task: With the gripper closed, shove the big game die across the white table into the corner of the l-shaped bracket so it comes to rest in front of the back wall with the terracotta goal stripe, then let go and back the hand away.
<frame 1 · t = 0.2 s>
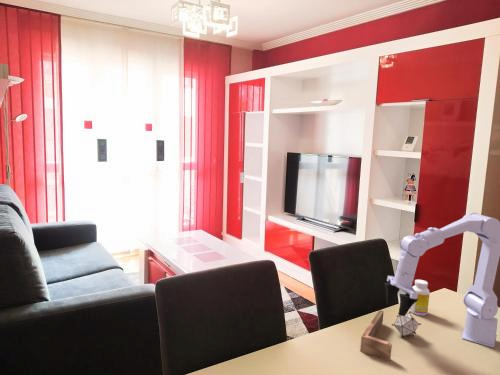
hand: (395, 309, 126), 11 cm above the table, tool pointing down, fingers open, 7 cm apart
supplement bottle: (418, 312, 149), on the table
l-shaped bracket: (401, 343, 125), on the table
game die: (404, 335, 131), on the table
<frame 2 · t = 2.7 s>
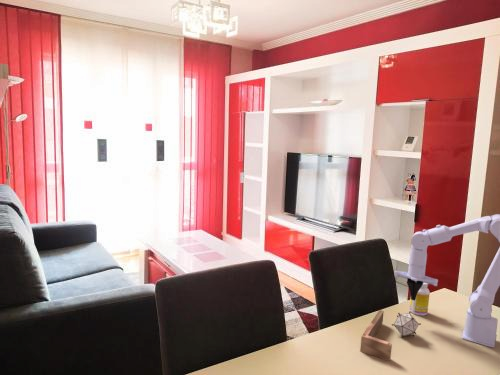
hand: (413, 299, 140), 9 cm above the table, tool pointing down, fingers closed
nothing on the table moved.
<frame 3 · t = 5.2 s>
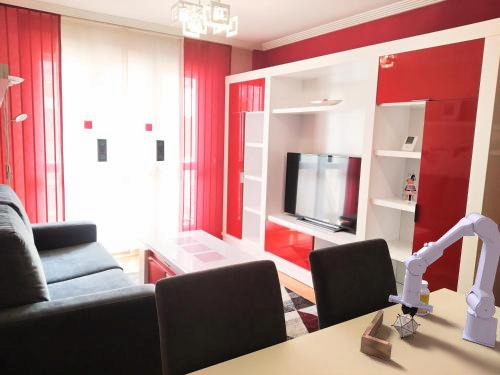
hand: (408, 325, 135), 1 cm above the table, tool pointing down, fingers closed
game die: (404, 336, 130), on the table, touching gripper
everything else where it was.
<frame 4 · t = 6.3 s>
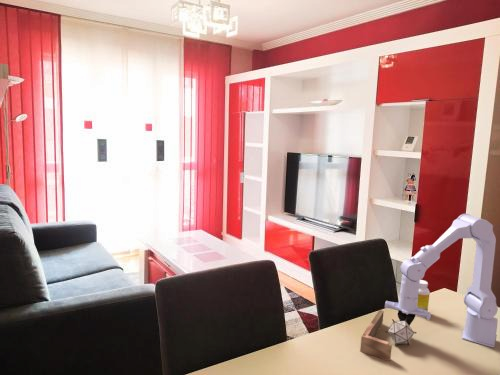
hand: (404, 332, 130), 1 cm above the table, tool pointing down, fingers closed
game die: (399, 343, 125), on the table, touching gripper
everything else where it was.
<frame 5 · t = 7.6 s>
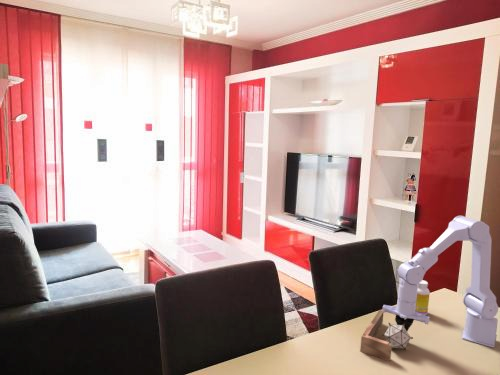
hand: (402, 337, 127), 1 cm above the table, tool pointing down, fingers closed
game die: (395, 348, 122), on the table, touching gripper
everything else where it was.
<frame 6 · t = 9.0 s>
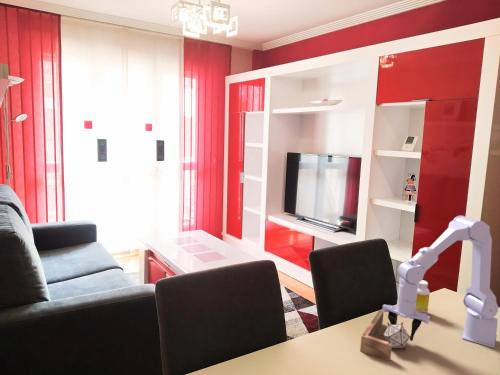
hand: (402, 336, 127), 2 cm above the table, tool pointing down, fingers open, 5 cm apart
nothing on the table moved.
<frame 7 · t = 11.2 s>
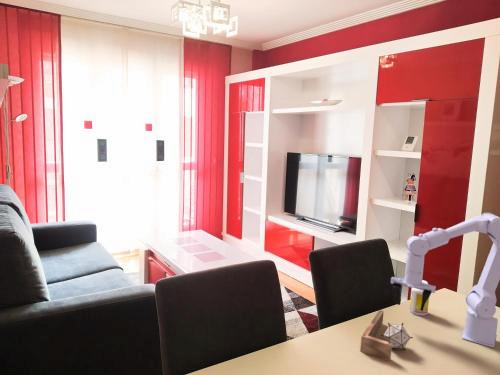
hand: (410, 306, 134), 9 cm above the table, tool pointing down, fingers open, 7 cm apart
game die: (395, 348, 123), on the table
everything else where it was.
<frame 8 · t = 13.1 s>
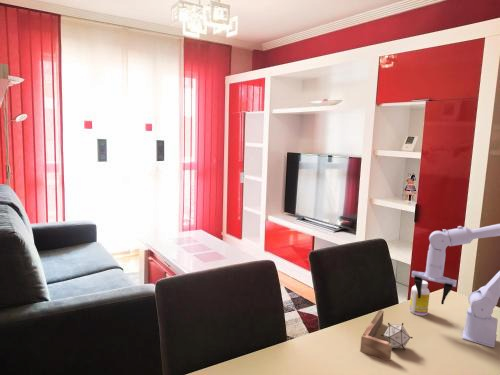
hand: (430, 300, 136), 10 cm above the table, tool pointing down, fingers open, 7 cm apart
nothing on the table moved.
at the end: game die inside the target area (1.6 cm from its centre), on the table; game die moved 10.8 cm from its start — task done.
